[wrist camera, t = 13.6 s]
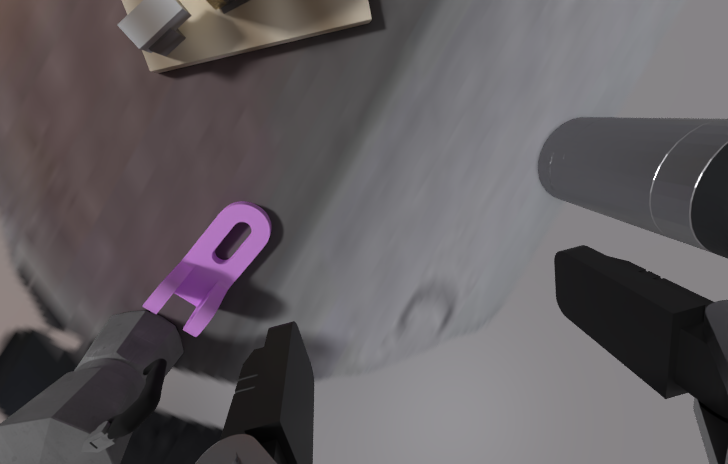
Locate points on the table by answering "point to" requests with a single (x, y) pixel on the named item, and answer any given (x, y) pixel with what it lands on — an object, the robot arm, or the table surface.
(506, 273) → the table surface
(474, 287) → the table surface
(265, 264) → the table surface
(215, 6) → the tan rectangular block
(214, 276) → the bracket
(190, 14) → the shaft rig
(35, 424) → the coffeepot
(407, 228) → the table surface
